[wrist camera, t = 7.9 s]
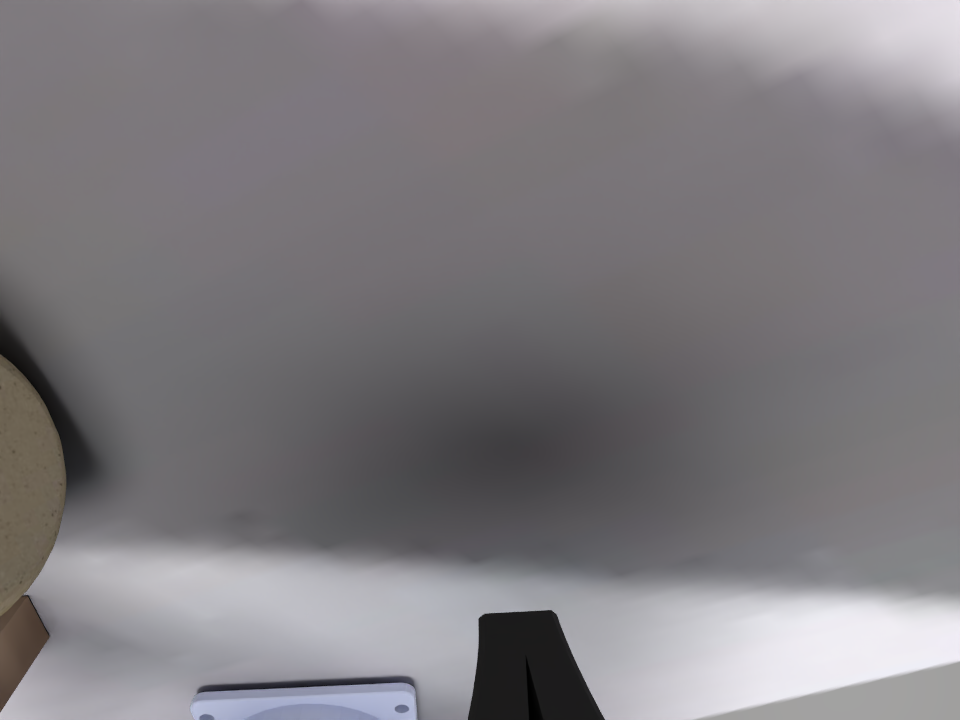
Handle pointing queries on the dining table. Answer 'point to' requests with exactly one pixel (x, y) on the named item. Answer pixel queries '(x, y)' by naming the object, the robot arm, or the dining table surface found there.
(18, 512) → the ceramic mug
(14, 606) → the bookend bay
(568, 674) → the robot arm
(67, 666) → the dining table surface
